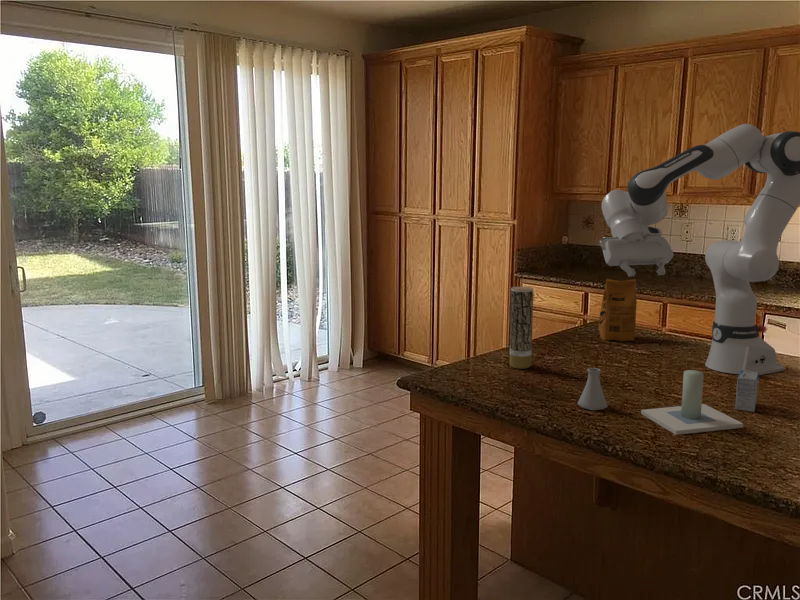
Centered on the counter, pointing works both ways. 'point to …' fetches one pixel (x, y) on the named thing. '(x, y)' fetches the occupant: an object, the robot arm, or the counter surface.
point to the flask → (593, 392)
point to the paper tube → (521, 327)
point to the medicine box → (747, 390)
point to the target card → (691, 420)
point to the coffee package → (618, 311)
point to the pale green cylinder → (692, 394)
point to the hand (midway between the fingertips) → (647, 274)
